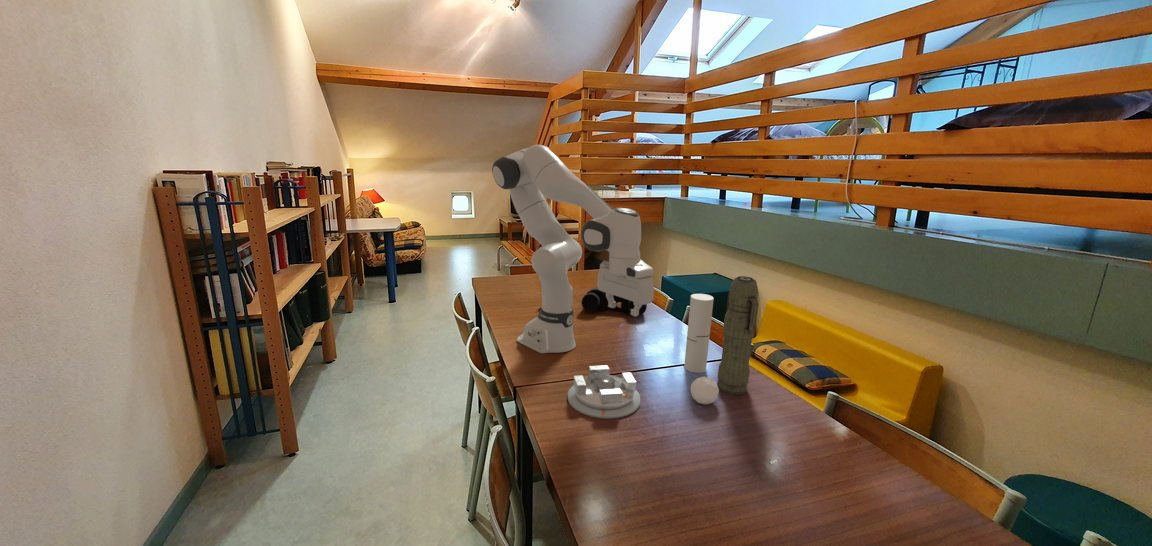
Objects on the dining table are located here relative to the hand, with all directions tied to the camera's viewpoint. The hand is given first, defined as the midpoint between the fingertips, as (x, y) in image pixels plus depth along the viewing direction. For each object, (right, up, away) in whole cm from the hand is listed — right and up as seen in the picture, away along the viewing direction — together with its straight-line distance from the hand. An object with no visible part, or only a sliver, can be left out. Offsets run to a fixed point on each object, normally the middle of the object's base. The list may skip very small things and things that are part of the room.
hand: (623, 311), depth 134 cm
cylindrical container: (+26, -21, +20) cm, 39 cm away
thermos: (+34, -24, +7) cm, 43 cm away
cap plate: (-6, -25, -2) cm, 26 cm away
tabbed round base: (-6, -24, -2) cm, 25 cm away
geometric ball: (+23, -26, -2) cm, 35 cm away
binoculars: (+4, -6, +77) cm, 77 cm away
